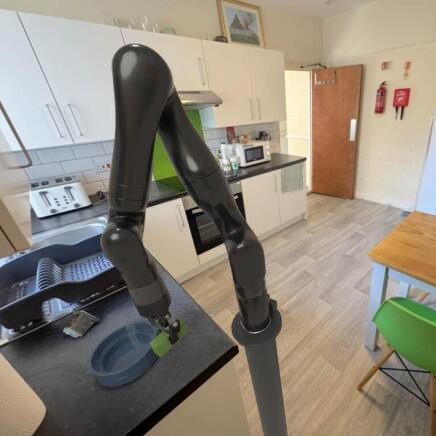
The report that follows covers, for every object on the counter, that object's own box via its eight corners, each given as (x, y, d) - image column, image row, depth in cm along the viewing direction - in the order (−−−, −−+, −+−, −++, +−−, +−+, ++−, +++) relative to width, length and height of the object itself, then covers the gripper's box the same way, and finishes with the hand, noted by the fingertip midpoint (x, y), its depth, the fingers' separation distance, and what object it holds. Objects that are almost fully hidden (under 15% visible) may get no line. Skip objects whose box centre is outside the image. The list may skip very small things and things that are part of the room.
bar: (182, 326, 70) (178, 317, 69) (189, 330, 69) (185, 321, 67) (154, 352, 64) (148, 343, 62) (160, 357, 62) (155, 348, 60)
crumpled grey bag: (54, 333, 79) (50, 326, 71) (73, 312, 83) (71, 304, 75) (84, 344, 81) (83, 340, 73) (100, 324, 86) (101, 317, 78)
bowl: (143, 325, 79) (137, 314, 76) (173, 347, 71) (168, 335, 69) (86, 369, 66) (77, 356, 64) (115, 401, 59) (106, 388, 56)
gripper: (181, 292, 58) (198, 339, 65) (148, 275, 64) (167, 319, 72) (151, 314, 52) (175, 363, 60) (119, 293, 59) (143, 339, 66)
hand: (170, 339), depth 66 cm, fingers closed on bar, 3 cm apart
